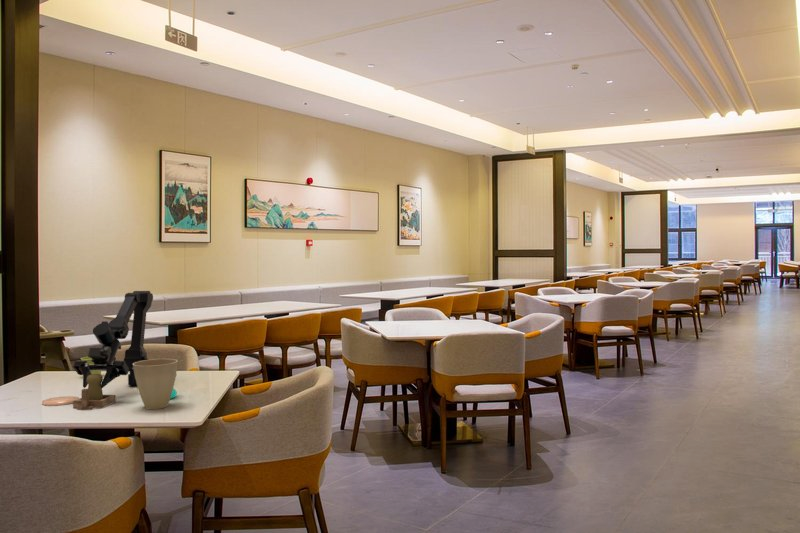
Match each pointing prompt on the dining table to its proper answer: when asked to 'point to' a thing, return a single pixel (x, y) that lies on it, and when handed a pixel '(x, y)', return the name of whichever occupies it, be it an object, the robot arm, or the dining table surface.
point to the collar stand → (92, 401)
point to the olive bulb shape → (95, 387)
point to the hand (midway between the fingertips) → (92, 387)
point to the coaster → (59, 401)
